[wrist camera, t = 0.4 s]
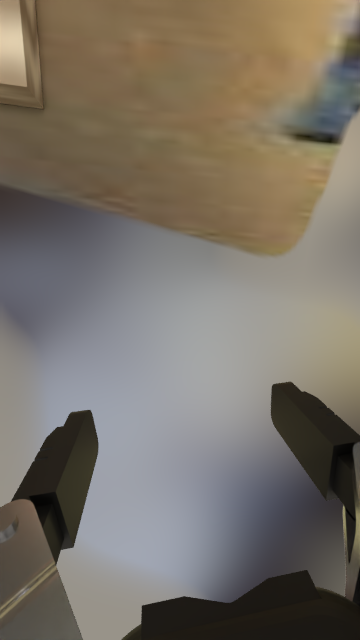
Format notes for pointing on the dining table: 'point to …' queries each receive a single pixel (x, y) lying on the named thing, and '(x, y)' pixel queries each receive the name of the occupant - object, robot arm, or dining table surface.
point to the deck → (19, 54)
